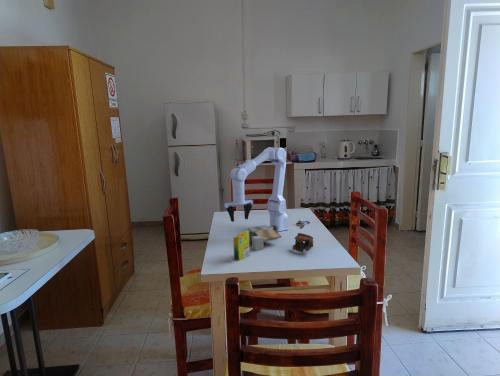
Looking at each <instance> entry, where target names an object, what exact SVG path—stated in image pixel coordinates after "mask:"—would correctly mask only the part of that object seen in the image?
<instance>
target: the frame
mask: <svg viewBox="0 0 500 376" xmlns="http://www.w3.org/2000/svg"><path fill="white" fill-rule="evenodd" d="M273 228H274V229H273V230H274V231H276V232H277V233H278V234H279V231H278V226H276V225H273ZM252 237H253V236H252V231H250V230H249V246H252ZM278 239H279V238H276V239H275V240H278Z"/></svg>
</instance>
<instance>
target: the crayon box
mask: <svg viewBox="0 0 500 376" xmlns="http://www.w3.org/2000/svg"><path fill="white" fill-rule="evenodd" d="M232 239H233V256H234V258H233V260H235V261H241V260H243V259H245V258H247V257H249V256H250V245H249V230H248V229H247V230H245V231H242V232H239V233H237V235H236V236H234V237H233V238H232Z"/></svg>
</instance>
